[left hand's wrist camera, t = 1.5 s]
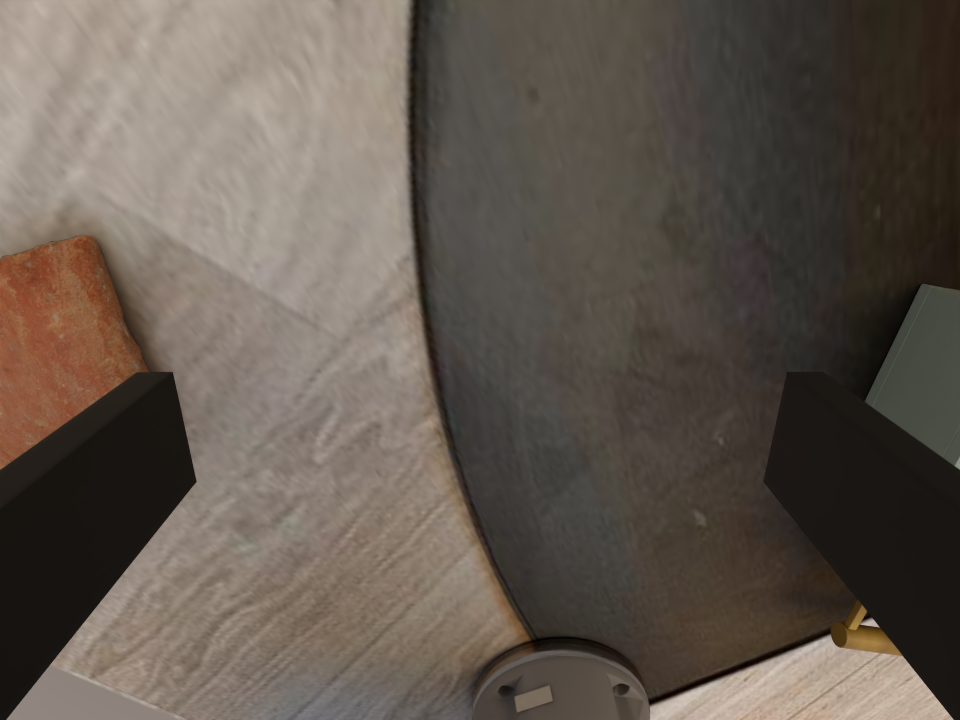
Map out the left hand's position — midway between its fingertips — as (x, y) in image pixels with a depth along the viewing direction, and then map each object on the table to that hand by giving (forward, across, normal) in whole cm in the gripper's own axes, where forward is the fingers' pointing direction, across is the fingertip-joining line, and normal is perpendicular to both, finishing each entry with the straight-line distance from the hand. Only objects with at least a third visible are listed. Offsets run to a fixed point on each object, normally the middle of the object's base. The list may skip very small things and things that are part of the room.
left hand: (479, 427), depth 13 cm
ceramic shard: (+25, +29, +8) cm, 39 cm away
